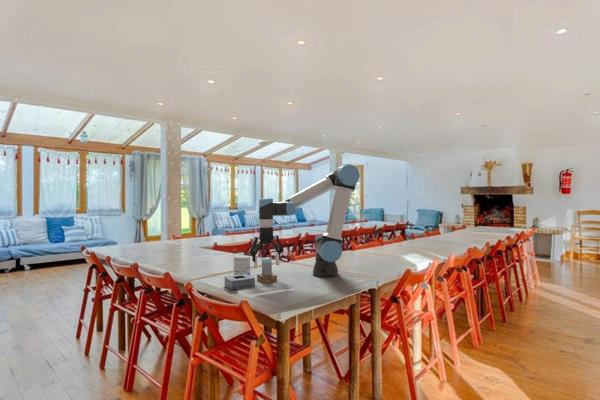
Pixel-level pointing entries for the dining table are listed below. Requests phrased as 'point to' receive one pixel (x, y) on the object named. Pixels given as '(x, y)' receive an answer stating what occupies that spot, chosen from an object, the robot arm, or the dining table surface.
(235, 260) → the ink box
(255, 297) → the dining table surface
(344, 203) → the robot arm
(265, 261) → the plug
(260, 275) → the brown hollow block
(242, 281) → the block
